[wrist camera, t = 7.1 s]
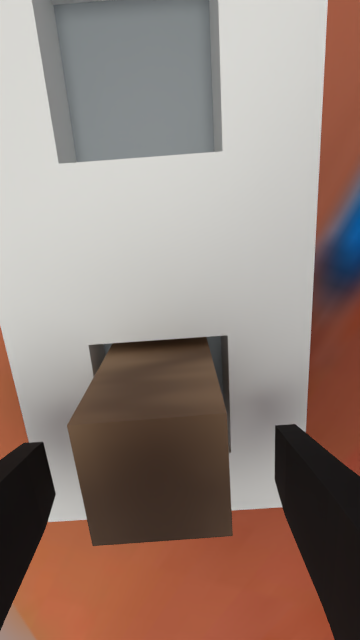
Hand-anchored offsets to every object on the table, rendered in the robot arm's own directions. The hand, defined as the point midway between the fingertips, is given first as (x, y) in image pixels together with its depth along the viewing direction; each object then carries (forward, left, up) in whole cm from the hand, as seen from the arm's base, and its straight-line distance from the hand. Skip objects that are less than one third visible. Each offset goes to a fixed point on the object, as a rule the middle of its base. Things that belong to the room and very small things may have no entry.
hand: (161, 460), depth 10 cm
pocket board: (0, -6, -6) cm, 8 cm away
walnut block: (0, 0, -6) cm, 6 cm away
